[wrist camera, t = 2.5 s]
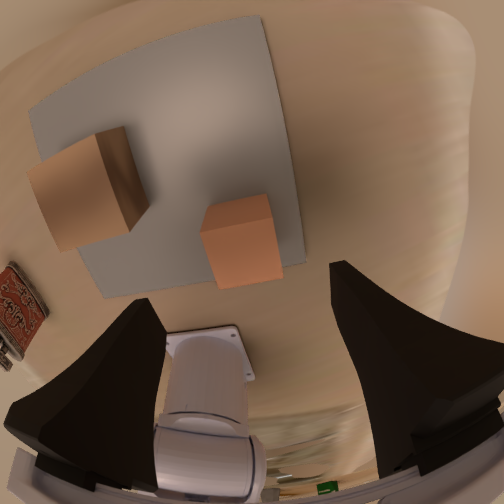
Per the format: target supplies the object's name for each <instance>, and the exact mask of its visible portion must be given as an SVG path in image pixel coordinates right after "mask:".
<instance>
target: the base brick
mask: <svg viewBox="0 0 504 504" xmlns="http://www.w3.org/2000/svg"><path fill="white" fill-rule="evenodd" d="M27 174H28V177H29V180H30V183H31V186H32V189H33V191H34V194H35V197H36V199H37V202H38V204H39V207H40V209H41V212H42V214H43V216H44V219H45V221H46V223H47V226H48V228H49V230H50V232H51V234H52V236H53V238H54V241H55V243H56V245H57V247H58V249H59V251H60V253H61V252H64V251H68V250H71V249H74V248H77V247H81V246H84V245H87V244H91V243H94V242H98V241H101V240H105V239H108V238H112V237H115V236H119V235H122V234H126V233H130V231H131V230H132V229H133V227H134V226H135V225H136V224H137V222H138V221H139V220H140V218H141V217H142V216H143V215H144V213H145V212H146V211H147V210H148V208H149V207H150V206H149V203H148V200H147V197H146V194H145V192H144V189H143V186H142V183H141V180H140V177H139V174H138V171H137V168H136V165H135V162H134V158H133V155H132V152H131V149H130V146H129V142H128V139H127V135H126V132H125V128H124V126H121V127H117V128H114V129H110V130H106V131H103V132H99V133H96V134H93V135H91V136H89V137H87V138H85V139H83V140H81V141H79V142H77V143H75V144H73V145H72V146H70V147H68V148H66V149H64V150H62V151H61V152H59V153H57V154H55V155H54V156H52V157H50V158H48V159H47V160H45V161H43V162H42V163H40V164H39V165H37V166H35V167H34V168H32V169H31V170H29V171H28V172H27Z"/></svg>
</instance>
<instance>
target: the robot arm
mask: <svg viewBox="0 0 504 504" xmlns="http://www.w3.org/2000/svg"><path fill="white" fill-rule="evenodd" d="M329 268H330V286H331V305H332V308H333V312H334V315H335V319H336V322H337V325H338V328H339V330H340V333H341V335H342V337H343V340H344V342H345V344H346V347H347V349H348V352H349V354H350V356H351V359H352V361H353V364H354V366H355V368H356V371H357V374H358V376H359V379H360V383H361V386H362V390H363V394H364V398H365V402H366V406H367V410H368V415H369V419H370V424H371V429H372V434H373V440H374V446H375V452H376V459H377V468H378V474H379V479H380V480H377V481H374V482H370V483H367V484H364V485H360V486H357V487H353V488H349V489H345V490H341V491H337V492H332V493H328V494H323V495H318V496H312V497H306V498H300V499H292V500H285V501H274V502H261V503H259V499H260V494H261V491H262V489H263V487H264V484H265V479H266V469H267V464H266V454H265V449H264V446H263V444H262V443H261V442H260V441H259V439H258V438H257V437H256V436H255V435H249V425H247V424H248V403H247V381H253V380H255V375H254V372H253V369H252V367H251V364H250V362H249V359H248V356H247V354H246V351H245V348H244V346H243V343H242V340H241V338H240V335H239V332H238V330H237V328H236V327H235V326H227V327H220V328H213V329H206V330H199V331H191V332H182V333H174V334H167V331H166V330H165V328H164V326H163V325H162V323H161V321H160V319H159V318H158V316H157V314H156V312H155V310H154V309H153V307H152V305H151V303H150V301H149V299H148V298H143V299H136V300H134V301H133V302H132V303H131V304H130V305H129V306H128V307H127V308H126V309H125V310H124V311H123V312H122V313H121V314H120V315H119V316H118V317H117V319H116V320H115V321H114V322H113V323H112V324H111V325H110V326H109V327H108V328H107V330H106V331H105V332H104V333H103V334H102V335H101V336H100V337H99V338H98V339H97V340H96V341H95V342H94V343H93V344H92V345H91V346H90V348H89V349H88V350H87V351H86V352H85V353H84V354H83V355H81V356H80V357H79V358H78V359H77V360H76V361H75V362H74V363H73V364H72V365H70V366H69V367H68V368H67V369H66V370H64V371H63V372H62V373H60V374H59V375H58V376H57V377H55V378H54V379H53V380H51V381H50V382H49V383H47V384H46V385H44V386H43V387H41V388H39V389H38V390H36V391H35V392H33V393H31V394H29V395H27V396H25V397H23V398H21V399H20V400H18V401H16V402H13V403H12V405H11V407H10V409H9V411H8V414H7V416H6V418H5V421H4V427H5V428H6V429H7V430H8V431H9V432H10V433H11V434H13V435H14V436H15V437H17V438H18V439H19V440H21V441H22V442H23V443H25V444H26V445H28V446H29V447H31V448H32V449H34V450H35V451H37V452H38V455H37V457H36V456H34V455H32V454H30V453H29V452H26V451H25V450H23V449H21V448H17V451H16V454H15V457H14V461H13V465H12V468H11V472H10V476H9V480H8V485H7V489H8V491H10V492H11V493H12V494H13V495H15V496H16V497H17V498H19V499H20V500H21V501H22V502H24V503H25V504H365V503H368V502H371V501H375V500H378V499H380V500H379V501H378V504H491V503H492V502H493V501H495V500H496V499H497V498H498V497H499V496H500V495H501V494H502V493H503V492H504V412H503V413H501V414H500V413H499V411H498V409H497V408H499V407H500V406H501V402H500V401H499V398H498V395H499V394H500V393H501V392H502V391H503V390H504V343H500V342H496V341H492V340H487V339H484V338H480V337H477V336H473V335H470V334H468V333H465V332H462V331H459V330H457V329H454V328H451V327H449V326H447V325H444V324H442V323H440V322H438V321H436V320H433V319H431V318H429V317H427V316H425V315H424V314H422V313H420V312H418V311H416V310H414V309H413V308H411V307H409V306H407V305H406V304H404V303H403V302H401V301H399V300H398V299H396V298H395V297H393V296H392V295H390V294H389V293H387V292H386V291H384V290H383V289H382V288H380V287H379V286H378V285H376V284H375V283H374V282H372V281H371V280H370V279H368V278H367V277H366V276H365V275H363V274H362V273H361V272H359V271H358V270H357V269H356V268H354V267H353V266H352V265H351V264H349V263H348V262H347V261H345V260H342V261H338V262H333V263H329ZM166 350H167V351H168V353H169V354H170V356H171V357H172V359H173V362H172V367H171V372H170V377H169V382H168V388H167V393H166V399H165V404H164V410H163V414H161V413H160V414H159V420H158V423H155V422H154V411H155V402H156V396H157V391H158V386H159V382H160V377H161V372H162V368H163V363H164V358H165V352H166ZM122 488H123V489H128V490H131V489H134V490H138V494H137V493H133V492H128V491H124V490H122ZM381 498H382V499H381Z"/></svg>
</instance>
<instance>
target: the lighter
mask: <svg viewBox="0 0 504 504" xmlns="http://www.w3.org/2000/svg"><path fill="white" fill-rule="evenodd" d="M48 316H49V309H48V308H47V306H46V304H45V302H44V301H43V299H42V297H41V296H40V294H39V293H38V291H37V290H36V288H35V287H34V285H33V284H32V282H31V281H30V279H29V278H28V277H27V275H26V274H25V273H24V271H23V270H22V269H21V267H20V266H19V265H18V264H17V263H16V262H14V261H11V262H10V263H9V264H8V265H7V266H6V267H5V270H4V271H3V272H2V273H1V274H0V346H1V349H0V367H1V368H2V369H3V370H4V371H5V372H7V371H10V369H11V367H12V365H13V364H12V362H11V361H10V360H9V359H8V358H7V357H6V356H5V354H6V353H8V354H9V355H10V356H11V357H12V358H14V359H15V360H17V361H20V362H21V361H22V360H23V358H24V356H25V354H24V353H25V351H26V349H27V347H28V346H29V344H30V342H31V340H32V339H33V337H34V335H35V334H36V332H37V330H38V329H39V327H40V326H41V324H42V322H43V321H45V320H46V319H47V317H48Z"/></svg>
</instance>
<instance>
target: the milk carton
mask: <svg viewBox="0 0 504 504" xmlns="http://www.w3.org/2000/svg"><path fill="white" fill-rule="evenodd" d="M317 490H318V495H323V494H328V493H332V492H337V491H339V490H338V484H337V481H330V482H326V483H322V484H318V485H317Z"/></svg>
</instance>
